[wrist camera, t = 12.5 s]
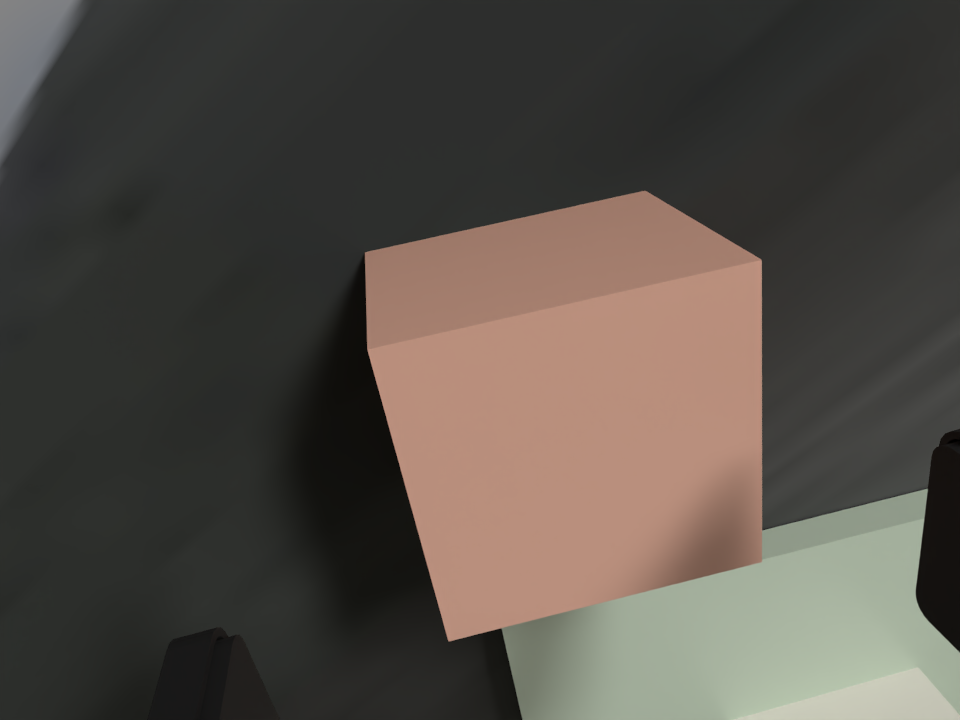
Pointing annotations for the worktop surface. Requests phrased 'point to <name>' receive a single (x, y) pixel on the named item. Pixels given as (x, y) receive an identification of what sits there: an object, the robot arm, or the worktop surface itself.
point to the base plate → (746, 629)
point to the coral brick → (572, 405)
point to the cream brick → (871, 702)
